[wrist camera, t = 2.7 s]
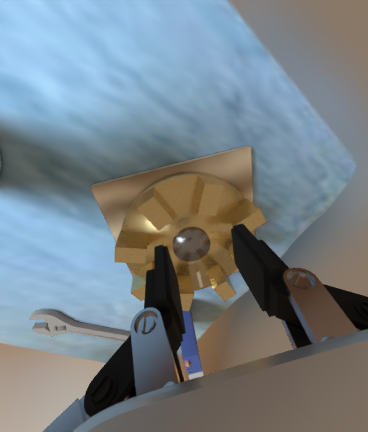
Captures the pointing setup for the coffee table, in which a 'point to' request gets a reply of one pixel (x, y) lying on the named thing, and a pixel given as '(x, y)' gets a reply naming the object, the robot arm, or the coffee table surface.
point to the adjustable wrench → (73, 326)
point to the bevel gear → (186, 232)
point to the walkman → (190, 348)
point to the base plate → (133, 184)
